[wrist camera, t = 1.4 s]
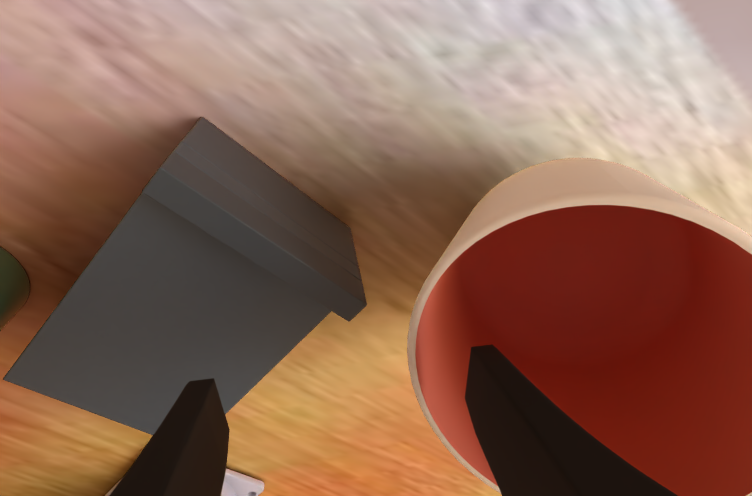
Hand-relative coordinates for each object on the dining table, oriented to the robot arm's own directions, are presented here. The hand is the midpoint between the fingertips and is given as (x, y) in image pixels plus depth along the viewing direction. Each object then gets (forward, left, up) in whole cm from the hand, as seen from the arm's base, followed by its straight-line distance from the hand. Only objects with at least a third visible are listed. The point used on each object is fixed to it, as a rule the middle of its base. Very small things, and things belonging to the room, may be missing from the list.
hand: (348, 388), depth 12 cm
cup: (+6, -9, -8) cm, 14 cm away
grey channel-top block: (-6, +3, -10) cm, 12 cm away
